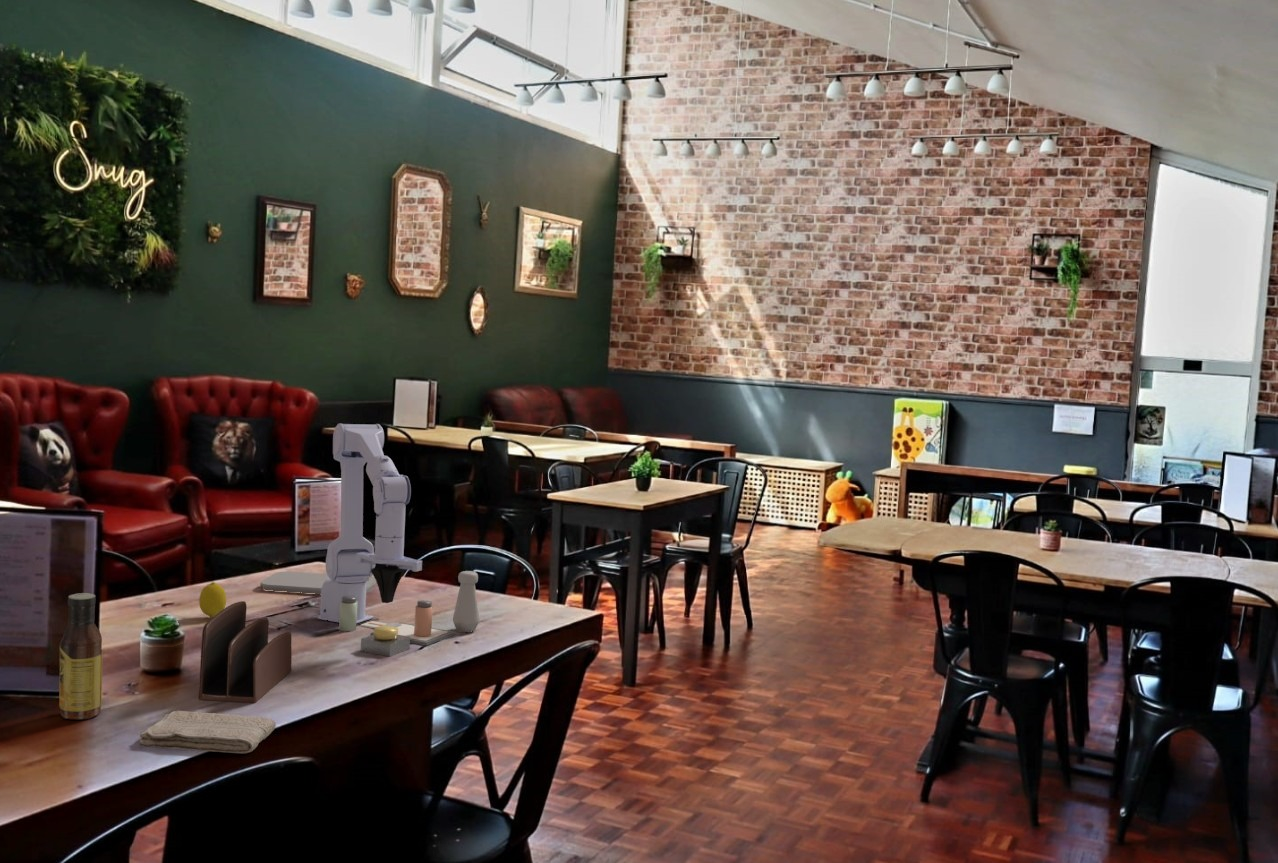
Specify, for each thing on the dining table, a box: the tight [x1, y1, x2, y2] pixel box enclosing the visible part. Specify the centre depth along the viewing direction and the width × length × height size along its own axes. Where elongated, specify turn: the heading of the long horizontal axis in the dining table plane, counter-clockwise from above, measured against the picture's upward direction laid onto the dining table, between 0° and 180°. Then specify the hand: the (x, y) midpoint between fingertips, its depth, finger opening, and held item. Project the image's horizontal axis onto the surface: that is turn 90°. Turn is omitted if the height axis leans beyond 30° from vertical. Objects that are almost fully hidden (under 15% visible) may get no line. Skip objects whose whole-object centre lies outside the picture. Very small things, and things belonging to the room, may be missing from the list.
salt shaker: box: [452, 570, 480, 633], centre depth 258 cm, size 6×6×13 cm
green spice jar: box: [338, 596, 358, 632], centre depth 253 cm, size 4×4×7 cm
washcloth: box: [138, 710, 277, 754], centre depth 184 cm, size 12×18×3 cm, turn 89°
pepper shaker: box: [413, 600, 434, 636], centre depth 249 cm, size 4×4×7 cm
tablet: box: [259, 571, 377, 594], centre depth 291 cm, size 16×26×2 cm, turn 88°
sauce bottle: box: [58, 592, 103, 721], centre depth 189 cm, size 7×6×20 cm
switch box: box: [360, 634, 411, 657], centre depth 239 cm, size 7×7×2 cm
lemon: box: [198, 582, 227, 619], centre depth 256 cm, size 6×6×8 cm
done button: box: [373, 626, 398, 640], centre depth 239 cm, size 5×5×4 cm
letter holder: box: [198, 600, 293, 704], centre depth 211 cm, size 10×20×14 cm, turn 179°
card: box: [360, 620, 388, 629], centre depth 258 cm, size 5×4×1 cm
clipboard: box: [370, 622, 456, 646], centre depth 252 cm, size 14×11×1 cm
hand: (387, 601), depth 238 cm, fingers closed
